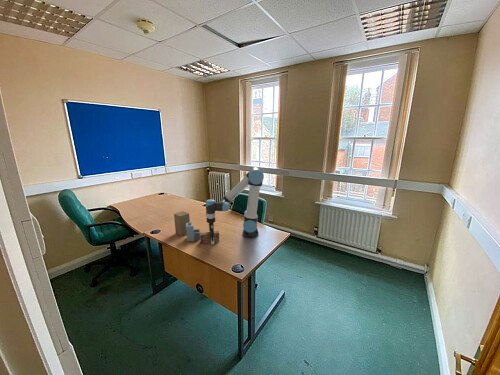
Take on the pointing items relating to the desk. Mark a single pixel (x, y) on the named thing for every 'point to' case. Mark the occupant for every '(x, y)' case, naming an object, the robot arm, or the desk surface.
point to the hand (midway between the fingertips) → (212, 240)
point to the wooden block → (181, 222)
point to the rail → (206, 237)
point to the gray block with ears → (192, 232)
